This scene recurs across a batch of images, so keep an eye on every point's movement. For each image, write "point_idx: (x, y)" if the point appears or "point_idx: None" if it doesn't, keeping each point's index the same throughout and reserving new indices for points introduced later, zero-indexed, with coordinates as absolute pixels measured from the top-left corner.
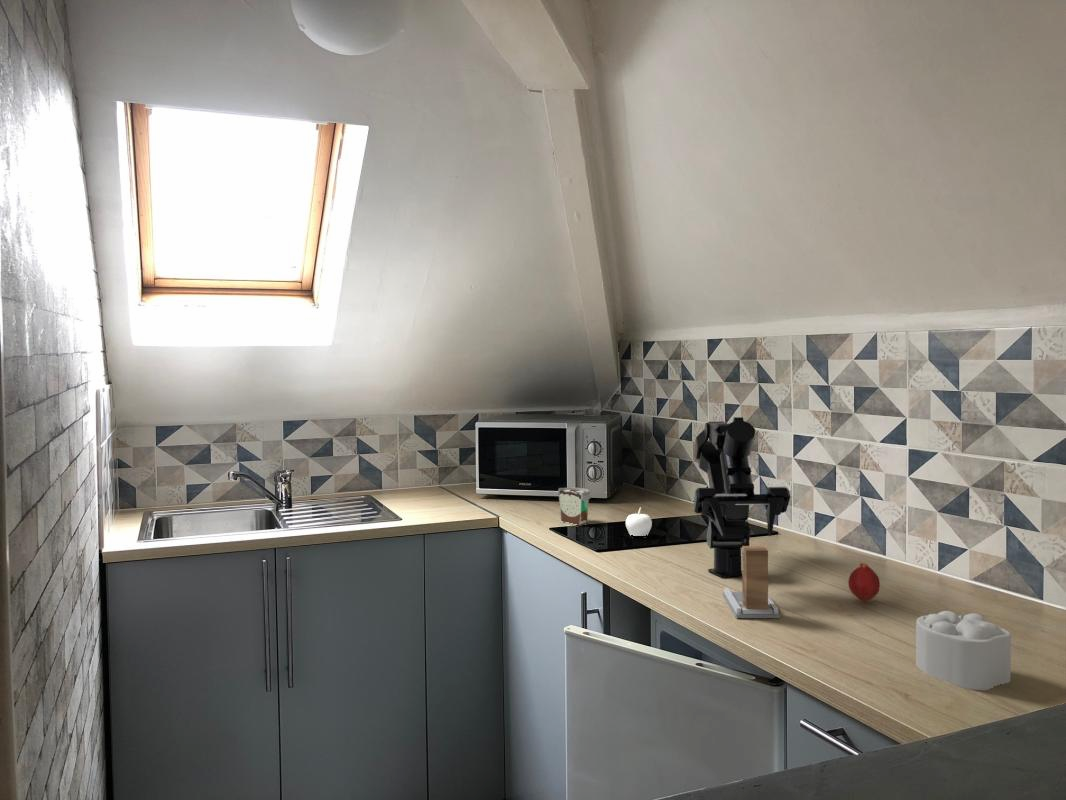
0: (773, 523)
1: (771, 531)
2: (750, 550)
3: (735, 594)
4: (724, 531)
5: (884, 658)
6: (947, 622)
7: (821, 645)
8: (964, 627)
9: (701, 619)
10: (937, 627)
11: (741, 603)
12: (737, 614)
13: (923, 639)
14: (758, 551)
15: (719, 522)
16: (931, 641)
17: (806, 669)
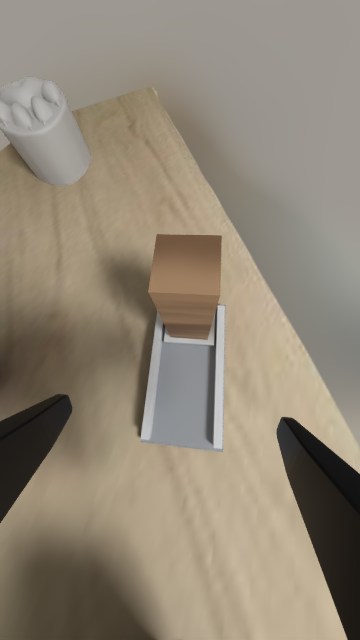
0: (2, 421)
1: (53, 397)
2: (207, 237)
3: (200, 429)
4: (287, 422)
5: (103, 185)
6: (45, 81)
7: (147, 214)
8: (35, 83)
9: (279, 308)
10: (58, 89)
11: (210, 335)
12: (223, 305)
13: (73, 121)
14: (184, 236)
15: (350, 467)
16: (71, 111)
17: (188, 162)
